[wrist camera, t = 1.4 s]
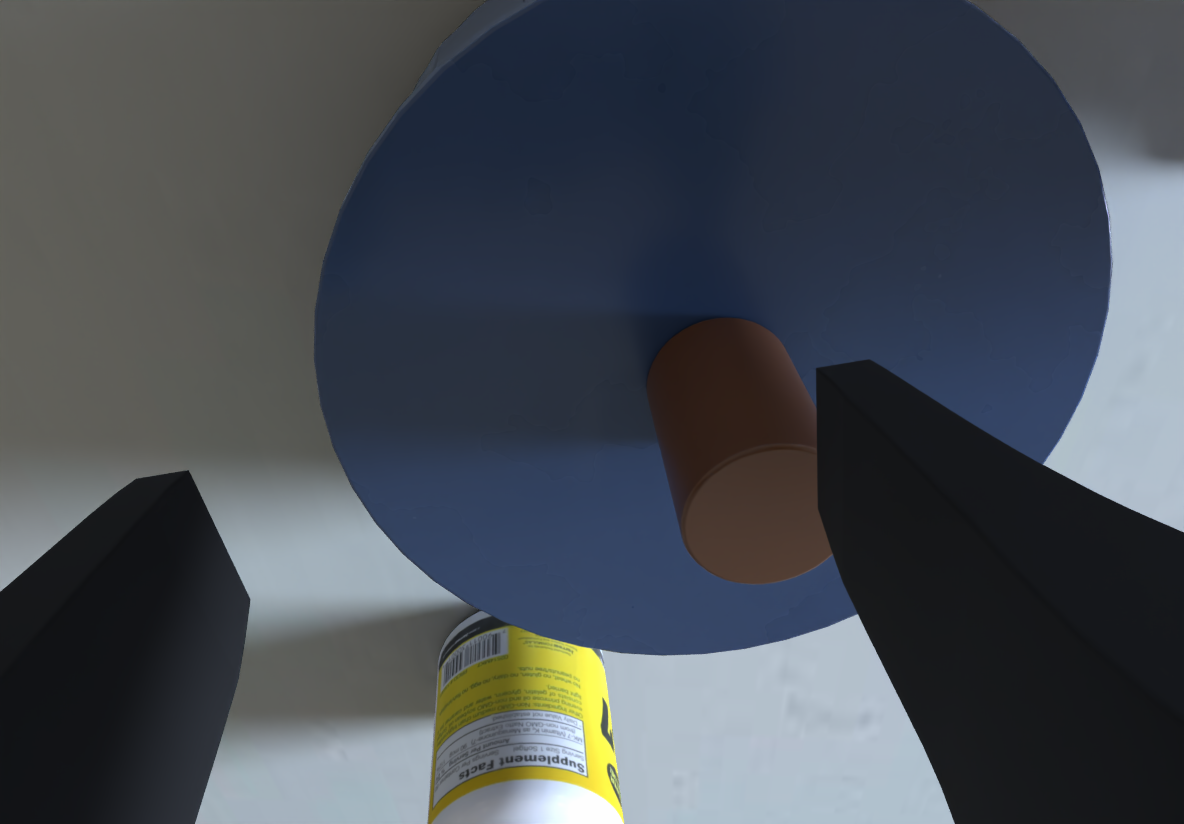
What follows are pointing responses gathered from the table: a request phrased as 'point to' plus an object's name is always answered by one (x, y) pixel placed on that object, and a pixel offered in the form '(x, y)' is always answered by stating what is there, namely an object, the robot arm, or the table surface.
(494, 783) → the supplement bottle
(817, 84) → the tin lid
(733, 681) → the table surface
